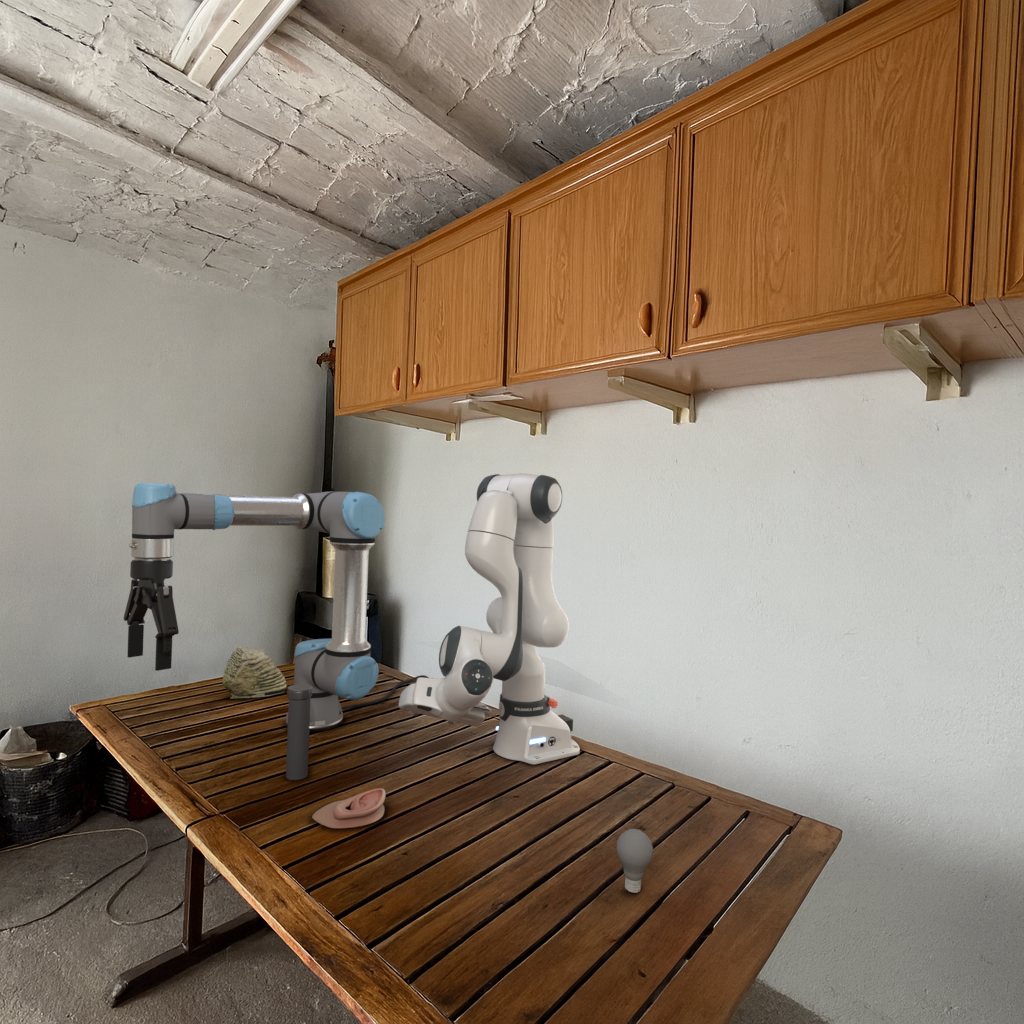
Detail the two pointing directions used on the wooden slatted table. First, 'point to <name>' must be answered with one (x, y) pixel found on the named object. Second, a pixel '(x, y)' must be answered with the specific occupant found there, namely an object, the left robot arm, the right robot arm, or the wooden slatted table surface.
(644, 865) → the light bulb
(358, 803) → the anatomical model
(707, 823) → the wooden slatted table surface
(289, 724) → the dark grey cylinder
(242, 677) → the fossil
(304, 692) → the lid
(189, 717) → the wooden slatted table surface
